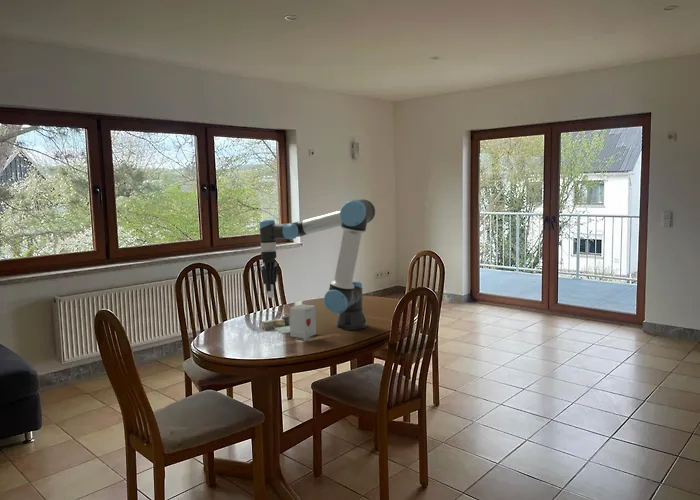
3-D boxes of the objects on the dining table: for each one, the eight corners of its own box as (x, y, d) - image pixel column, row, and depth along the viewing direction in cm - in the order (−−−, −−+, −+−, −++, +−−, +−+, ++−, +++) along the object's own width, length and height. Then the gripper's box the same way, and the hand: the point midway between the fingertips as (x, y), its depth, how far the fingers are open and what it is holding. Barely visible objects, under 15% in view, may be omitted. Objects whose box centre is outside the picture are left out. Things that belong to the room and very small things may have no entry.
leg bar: (287, 324, 275) (287, 315, 275) (290, 325, 272) (289, 317, 271) (261, 328, 269) (261, 319, 268) (264, 329, 265) (263, 320, 265)
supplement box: (305, 341, 247) (304, 309, 246) (290, 339, 252) (288, 307, 251) (317, 336, 255) (316, 305, 253) (301, 334, 260) (300, 303, 258)
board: (307, 333, 262) (306, 322, 262) (263, 340, 252) (263, 329, 251) (285, 321, 286) (284, 312, 286) (244, 327, 276) (244, 317, 275)
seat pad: (303, 330, 262) (303, 329, 262) (282, 334, 256) (282, 332, 256) (294, 326, 271) (294, 324, 271) (274, 329, 266) (274, 327, 266)
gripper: (270, 249, 279) (273, 294, 281) (254, 252, 268) (256, 299, 270) (282, 249, 275) (284, 295, 277) (266, 252, 264) (268, 300, 266)
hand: (270, 297), depth 274 cm, fingers closed
